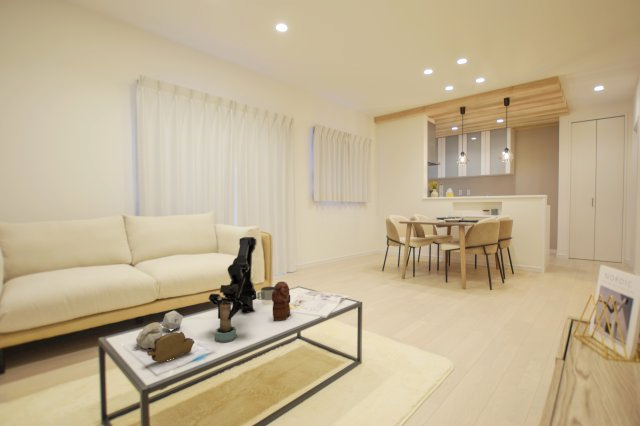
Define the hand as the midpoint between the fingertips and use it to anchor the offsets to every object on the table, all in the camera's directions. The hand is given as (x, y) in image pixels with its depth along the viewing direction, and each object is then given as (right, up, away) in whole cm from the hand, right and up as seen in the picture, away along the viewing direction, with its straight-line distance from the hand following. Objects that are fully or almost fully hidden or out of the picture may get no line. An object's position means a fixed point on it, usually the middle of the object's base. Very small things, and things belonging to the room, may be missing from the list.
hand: (223, 318), depth 136 cm
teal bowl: (0, -9, +2) cm, 9 cm away
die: (-27, -9, +12) cm, 31 cm away
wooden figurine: (+22, -8, +25) cm, 34 cm away
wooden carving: (-15, -10, -16) cm, 24 cm away
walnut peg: (0, -7, +2) cm, 7 cm away
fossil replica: (-29, -9, -4) cm, 30 cm away
